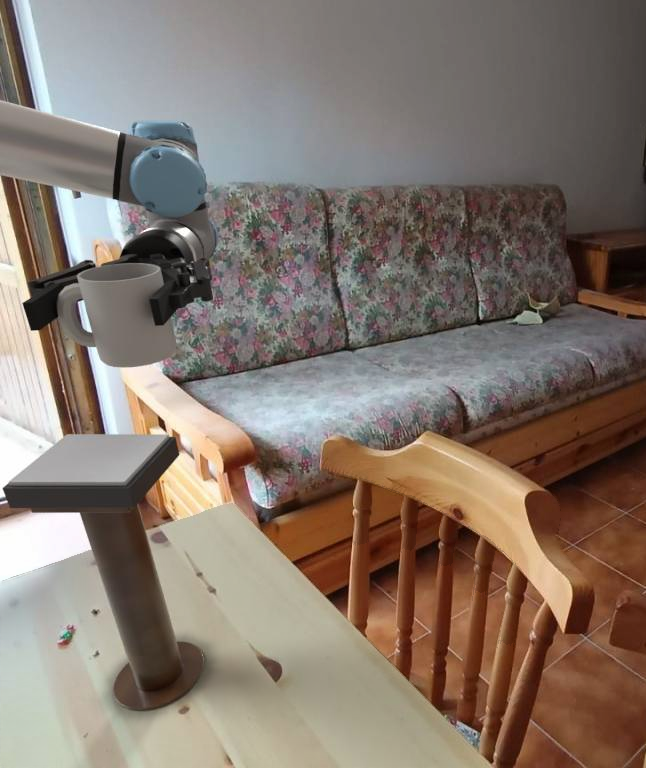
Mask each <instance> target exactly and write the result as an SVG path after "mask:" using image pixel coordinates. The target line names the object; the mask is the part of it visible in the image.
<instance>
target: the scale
mask: <svg viewBox="0 0 646 768" xmlns="http://www.w3.org/2000/svg"><path fill="white" fill-rule="evenodd" d="M179 456H180V450H179V446H178V441H177V438H176V436H170V434H159V433H158V434H155V433H153V434H152V433H151V434H148V433H147V434H146V433H145V434H143V433H142V434H141V433H140V434H139V433H138V434H136V433H135V434H129V433H128V434H122V433H117V434H115V433H113V434H110V433H109V434H108V433H107V434H105V433H103V434H102V433H94V434H93V433H92V434H91V433H85V434H83V433H66V434H65V435H64V436H62V438H61V439H59V440H58V441H57V442H56V443H54V444H53V445H52V446H51V447H49V448H48V449H47V450H46V451H44V452H43V453H42V454H41V455H39V456H38V457H37V458H36V459H34V461H32V462H31V463H30V464H28V465H27V466H26V467H25V468H23V469H22V470H21V471H20V472H19V473H17V474H16V475H15V476H14V477H12V478H11V479H10V480H9V481H8V483H7V484H6V485H4V486H3V487H2V491H3V494H4V497H5V499H6V502H7V504H8V506H9V508H10V509H31V508H135V507H136V505H137V504H138V505H139V503H140V502H141V501H142V500H143V499H144V498H145V496H146V495H147V494H148V493H149V491H150V490H151V489H152V488H153V487H154V486H155V485H156V483H157V482H158V481H159V480H160V478H161V477H162V476H163V475H164V474H165V473H166V472H167V471H168V469H169V468H170V467H171V466H172V465H173V464H174V463H175V461H176V460H177V459H178V458H179Z"/></svg>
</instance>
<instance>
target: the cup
mask: <svg viewBox="0 0 646 768" xmlns="http://www.w3.org/2000/svg"><path fill="white" fill-rule="evenodd" d="M77 279H78V282H79V283H74V284H71V285H69V286H66V287H65V288H64V289H63V290H62V291H61V292H60V293H59V296H58V299H57V314H58V317H57V318H58V320H59V324H60V325H61V328H62V329H63V331H64V334H65V335H67V336H68V337H69V339H71V341H73V342H75V343H76V344H78V345H80V346H83V347H87V348H96V351H97V354H98V357H99V360H100V361H101V362H102V363H103V364H105V365H107V366H109V367H113V368H138V367H144V366H149V365H153V364H156V363H160V362H162V361H165V360H167V359H169V358H171V357H172V356H173V355H174V354H175V352H176V351H177V347H178V346H177V340H176V334H175V330H174V324H173V320H172V316H171V317H170V319H169V320H168V321H167V322H166V323H165V324H164V325H163V326H155V323H154V319H153V314H152V310H151V305H150V301H149V299H150V298H151V297H152V296H153V295H154V294H155V293H156V292H157V291H158V290H159V289H160V288H161V287H162V286H163V285H164V282H163V278H162V273H161V268H160V267H159V266H156V265H153V264H145V263H125V264H114V265H106V266H101V265H100V266H96V268H91V269H88V270H85V271H83V272H81V273H79V274H78V275H77ZM79 299H83V300H82V301H83V303H84V307H85V311H86V312H85V313H86V316H87V319H88V324H89V327H90V329H91V332H90V331H87V330H86V329H85V328H84V327H83V326H82V325H81V323H80V321H79V319H78V316H77V311H76V306H77V303H78V302H77V300H79Z"/></svg>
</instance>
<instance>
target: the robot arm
mask: <svg viewBox="0 0 646 768" xmlns="http://www.w3.org/2000/svg"><path fill="white" fill-rule="evenodd" d="M128 130H129V131H128V132H129V133H125V132H121V131H118V130H114V129H110V128H108V127H107V128H106V127H103V126H99V125H95V124H92V123H88V122H84V121H80V120H76V119H73V118H69V117H67V116H62V115H59V114H54V113H51V112H46V111H43V110H39V109H36V108H33V107H32V108H31V107H27V106H24V105H20V104H17V103H12V102H9V101H5V100H1V99H0V176H3V177H7V178H8V177H9V178H13V179H16V180H17V179H18V180H22V181H26V182H27V181H28V182H31V183H37V184H41V185H45V186H51V187H55V188H60V189H65V190H69V191H75V192H78V193H83V194H89V195H91V196H92V195H94V196H97V197H102V198H107V199H112V200H115V201H119V202H122V203H126V204H131V205H136V206H140V207H143V208H144V209H145V212H146V217H147V221H148V228H147V229H145V230H143V231H141V232H139V234H137V235H136V236H133V237H132V238H131V239H129V240H128V241H127V242H126V243H125V245H124V246H123V248H122V250H121V252H120V255H119V258H118V259H114V260H110V261H107V262H102V263H101V265H100V266H106V265H114V264H125V263H145V264H153V265H156V266H159V267H160V268H161V273H162V278H163V282H164V285H163V286H162V287H161V288H160V289H159V290H158V291H157V292H156V293H155V294H154V295H153V296H152V297H151V298H150V299H149V301H150V305H151V310H152V314H153V319H154V323H155V326H163V325H164V324H165V323H166V322H167V321H168V320H169V319H170V317H171V318H172V316H174V314H175V313H176V312H177V311H178V309H184V308H185V307H187V306H188V305H189V304H192V303H194V302H195V299H198V298H200V300H201V302H211V301H213V300H214V295H213V290H212V284H211V281H212V280H213V273H212V269H211V263H210V259H211V258H212V257H213V256H214V253H215V251H216V249H217V247H218V244H219V238H220V237H219V230H218V228H217V226H216V224H215V223H214V221H213V220H212V219H211V217H210V215H209V211H208V207H207V201H206V198H205V195H206V194H207V189H208V183H207V175H206V173H205V170H204V168H203V166H202V165H201V163H200V159H199V152H198V144H197V142H196V138H195V135H194V134H195V133H194V129H193V127H192V126H191V125H190V123H188V122H186V121H181V120H137V121H136V120H135V121H133V122H131V123H130V124H129V127H128ZM96 267H97V265H96V263H95V262H94V260H92V259H84V260H82V261H80V262H79V263H78V264H76V265H74V266H71V267H68V268H67V267H66V268H65V269H62V270H59V271H56V272H53V273H50V274H47V275H44V276H41V277H38V278H36V279H33V280H30V281H28V282H26V283H27V284H26V285H27V288H28V291H29V294H30V298H28V299H26V300H25V301H23V302H21V304H22V307H23V310H24V314H25V316H26V319H27V323H28V327H29V329H30V331H31V332H34V331H35V332H36V331H41V330H43V329H44V328H45V327H47V326H48V325H50V324H51V323H52V322H54V321H55V320H56V319H58V318H59V317H58V314H57V299H58V296H59V293H60V292H61V291H62V290H63V289H64V288H65V287H66V286H69V285H71V284H74V283H79V282H78V279H77V275H78V274H79V273H81V272H83V271H85V270H88V269H91V268H96ZM192 277H193V281H194V282H193V281H192V282H191V278H192ZM82 301H84V300H83V299H79V300H77V302H76V303H78V302H82Z"/></svg>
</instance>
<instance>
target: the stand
mask: <svg viewBox="0 0 646 768" xmlns="http://www.w3.org/2000/svg"><path fill="white" fill-rule="evenodd" d="M30 512H31V513H32V514H37V513H38V514H69V513H70V514H77V513H78V514H79V515H80V519H81V521H82V525H83V527H84V530H85V534H86V537H87V539H88V543H89V545H90V549H91V552H92V555H93V558H94V561H95V564H96V567H97V569H98V573H99V576H100V579H101V582H102V585H103V589H104V591H105V595H106V598H107V600H108V603H109V606H110V609H111V612H112V615H113V618H114V621H115V624H116V628H117V631H118V634H119V637H120V640H121V642H122V646H123V649H124V652H125V655H126V658H127V663H126V664H125V665H124V666H123V668H122V669H121V670H120V671H119V673H118V674H117V676H116V678H115V680H114V683H113V689H112V693H113V697H114V699H115V701H116V703H117V704H118V705H119V706H120V707H122V708H123V709H126V710H129V711H135V712H137V711H138V712H144V711H145V712H146V711H151V710H152V711H153V710H155V709H158V708H162V707H164V706H167V705H169V704H171V703H173V702H175V701H176V700H178V699H180V698H181V697H183V696H184V695H185V694H186V693H188V692H189V691H190V690H191V689H192V688H193V687H194V686H195V685H196V683H197V682H198V681H199V679H200V678H201V675H202V674H203V672H204V668H205V656H204V653H203V652H202V650H201V649H200V648H199V647H198V646H197V645H195V644H193V643H191V642H188V641H179V640H178V641H177V637H176V634H175V630H174V626H173V623H172V619H171V617H170V613H169V609H168V605H167V602H166V598H165V595H164V592H163V587H162V584H161V580H160V576H159V574H158V570H157V566H156V563H155V558H154V556H153V555H154V554H153V552H152V548H151V545H150V541H149V537H148V533H147V530H146V527H145V523H144V519H143V516H142V513H141V509H140V506H139V503H138V504H137V505H136V507H135V508H30Z"/></svg>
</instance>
